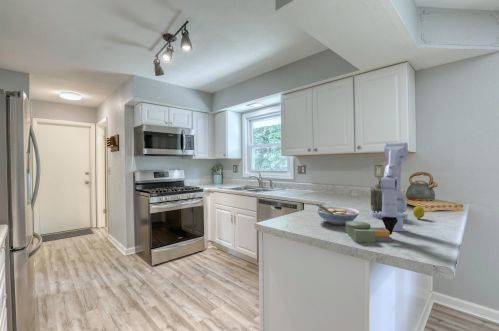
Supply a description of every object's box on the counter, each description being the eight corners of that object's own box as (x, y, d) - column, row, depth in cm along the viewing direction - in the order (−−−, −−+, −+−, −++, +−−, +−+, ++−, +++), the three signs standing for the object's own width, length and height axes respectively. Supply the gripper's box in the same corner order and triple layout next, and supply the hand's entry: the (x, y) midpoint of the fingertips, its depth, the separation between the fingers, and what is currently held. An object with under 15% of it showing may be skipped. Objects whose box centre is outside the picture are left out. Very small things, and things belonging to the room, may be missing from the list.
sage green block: (342, 231, 118) (342, 219, 118) (380, 233, 116) (380, 220, 116) (351, 242, 103) (351, 228, 103) (395, 243, 101) (395, 229, 101)
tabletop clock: (370, 213, 160) (371, 175, 160) (386, 214, 157) (386, 176, 156) (373, 218, 147) (373, 177, 146) (390, 219, 143) (390, 177, 143)
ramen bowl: (368, 229, 122) (368, 213, 121) (322, 229, 122) (322, 213, 122) (349, 218, 147) (349, 204, 146) (311, 217, 147) (311, 204, 147)
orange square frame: (367, 235, 112) (367, 226, 112) (383, 236, 111) (383, 227, 111) (372, 239, 106) (372, 230, 106) (389, 240, 105) (389, 231, 105)
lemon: (419, 217, 147) (419, 204, 147) (426, 220, 142) (426, 206, 142) (410, 217, 147) (410, 204, 147) (417, 220, 142) (417, 206, 141)
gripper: (376, 205, 105) (375, 236, 105) (411, 205, 103) (411, 237, 104) (369, 202, 112) (369, 231, 112) (403, 202, 110) (402, 232, 111)
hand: (389, 233), depth 108 cm, fingers closed
